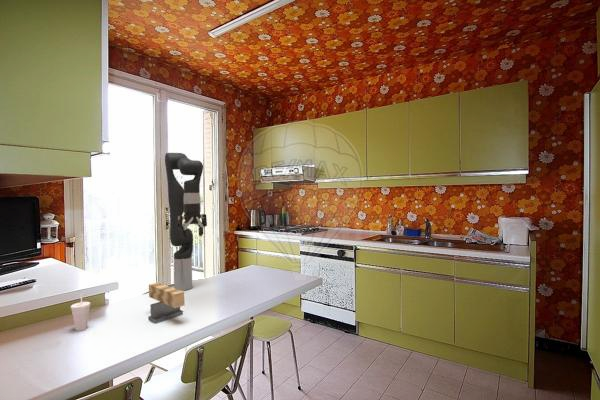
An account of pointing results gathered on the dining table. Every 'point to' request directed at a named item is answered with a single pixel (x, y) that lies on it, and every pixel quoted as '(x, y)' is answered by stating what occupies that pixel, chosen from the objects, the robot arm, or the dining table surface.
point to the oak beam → (166, 294)
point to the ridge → (163, 312)
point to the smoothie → (80, 314)
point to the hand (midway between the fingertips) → (192, 236)
